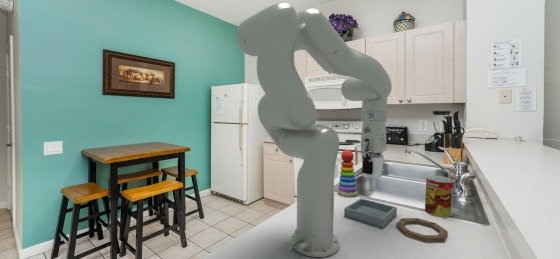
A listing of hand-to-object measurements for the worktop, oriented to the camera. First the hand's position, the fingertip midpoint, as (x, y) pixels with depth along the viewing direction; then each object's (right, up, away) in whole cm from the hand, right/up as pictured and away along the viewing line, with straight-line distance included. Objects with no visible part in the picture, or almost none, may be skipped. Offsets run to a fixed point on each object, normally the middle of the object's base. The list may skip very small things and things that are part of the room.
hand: (372, 171), depth 81 cm
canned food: (+25, -15, +5) cm, 29 cm away
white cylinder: (0, -2, 0) cm, 2 cm away
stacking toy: (-2, -14, +23) cm, 27 cm away
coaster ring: (+11, -16, -9) cm, 21 cm away
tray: (0, -15, +1) cm, 15 cm away
